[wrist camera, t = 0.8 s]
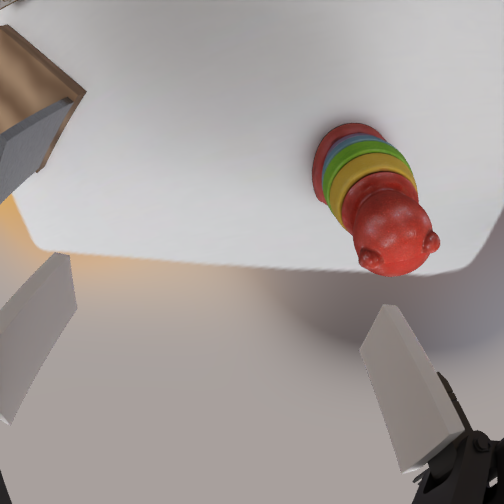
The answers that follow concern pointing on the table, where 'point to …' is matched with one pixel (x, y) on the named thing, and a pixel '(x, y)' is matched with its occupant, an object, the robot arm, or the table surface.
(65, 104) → the bookend
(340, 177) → the stacking bear
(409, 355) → the robot arm
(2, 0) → the game die
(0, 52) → the shelf plank
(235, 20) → the table surface
